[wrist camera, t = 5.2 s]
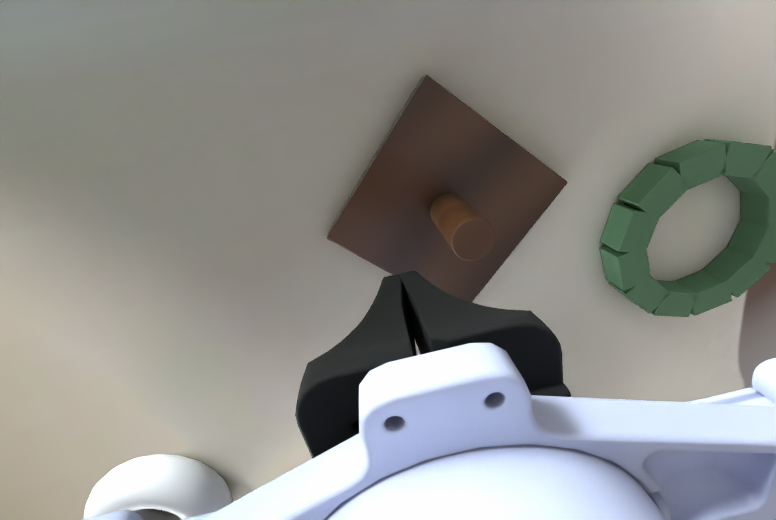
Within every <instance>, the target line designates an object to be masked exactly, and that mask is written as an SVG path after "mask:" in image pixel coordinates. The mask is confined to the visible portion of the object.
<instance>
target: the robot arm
mask: <svg viewBox="0 0 776 520" xmlns="http://www.w3.org/2000/svg"><path fill="white" fill-rule="evenodd" d="M414 338H415V339H414ZM415 341H416V343H417V346H418V349H419V351H420V354H421V355H417V354H416V346H415ZM295 416H296V420H297V424H298V427H299V429H300V431H301V434H302V436H303V438H304V440H305V443H306V445H307V447H308V449H309V452H310V454H311V456H312V458H313V459H311V460H309V461H307V462H306V463H304V464H302V465H300V466H298V467H296V468H295V469H293V470H291V471H289V472H287V473H285V474H284V475H282V476H280V477H278V478H276V479H274V480H273V481H271V482H269V483H267V484H265V485H263V486H262V487H260V488H258V489H256V490H254V491H252V492H251V493H249V494H247V495H245V496H243V497H241V498H240V499H238V500H236V501H234V502H232V503H230V504H229V505H227V506H225V507H223V508H221V509H219V510H218V511H216V512H211V513H207V514H203V515H198V516H194V517H190V518H185V519H181V520H776V358H773V359H769V360H766V361H764V362H762V363H761V364H760V365H758V366H757V367H756V369H755V371H754V373H753V377H752V387H751V388H746V389H742V390H738V391H733V392H729V393H725V394H720V395H716V396H712V397H707V398H703V399H699V400H694V401H690V402H671V401H649V400H627V399H604V398H582V397H571V394H570V391H569V390H568V388H567V387H566V386H565V384H564V383H563V367H562V351H561V346H560V343H559V341H558V339H557V338H556V336H555V335H554V333H553V332H552V331H551V330H550V329H549V328H548V327H547V326H546V325H545V324H544V323H543V322H542V321H541V320H540V319H539V318H538V317H537V316H536V315H534V314H533V313H532V312H531V311H524V310H505V309H497V308H491V307H486V306H481V305H478V304H474V303H470V302H467V301H464V300H462V299H459V298H457V297H454V296H452V295H450V294H448V293H446V292H444V291H443V290H441V289H439V288H438V287H436V286H435V285H433V284H432V283H430V282H429V281H428V280H426V279H425V278H424V277H423V276H421V275H420V274H419V273H418V272H416V271H415V270H414V271H409V272H405V273H401V274H397V275H392V276H388V277H384V278H383V280H382V283H381V286H380V289H379V291H378V294H377V296H376V298H375V300H374V302H373V304H372V306H371V307H370V309H369V311H368V312H367V314H366V316H365V317H364V318H363V320H362V321H361V322H360V324H359V325H358V326H357V327H356V328H355V329H354V330H353V331H352V332H351V333H350V334H349V335H348V336H347V337H346V338H345V339H344V340H342V341H341V342H340V343H339V344H337V345H336V346H335V347H333V348H332V349H331V350H329V351H328V352H326V353H324V354H323V355H321V356H319V357H318V358H316V359H314V360H313V361H311V362H309V363H308V364H307V367H306V370H305V373H304V375H303V378H302V381H301V385H300V389H299V394H298V399H297V405H296V414H295ZM82 520H143V519H142V518H141V517H140V515H138V514H137V513H136V512H134V511H131V510H118V511H114V512H110V513H106V514H101V515H97V516H93V517H88V518H85V519H82Z"/></svg>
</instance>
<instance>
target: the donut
mask: <svg viewBox="0 0 776 520" xmlns="http://www.w3.org/2000/svg"><path fill="white" fill-rule="evenodd" d="M230 503H232V496H231V493H230V491H229V489H228V486H227V484H226V482H225V481H224V480H223V478H222V477H221V476H219V475H218V474H217V473H216V472H215V471H214V470H213V469H212V468H211V467H209V466H207V465H205V464H203V463H201V462H200V461H198V460H195V459H191V458H187V457H184V456H180V455H167V454H156V455H150V456H144V457H138V458H135V459H132V460H130V461H128V462H125V463H123V464H121V465H119V466H117V467H115V468H114V469H112V470H111V471H110V472H109V473H108V474H107V475H105V476H104V477H103V478H102V479H101V480H100V481H99V482H98V483H97V484H96V485H95V487H94V488H93V490H92V492H91V494H90V496H89V499H88V501H87V504H86V507H85V511H84V519H85V518H88V517H93V516H97V515H101V514H106V513H110V512H114V511H118V510H131V511H134V512H136V513H137V514H138V515H140V517H141V518H142V519H143V520H181V519H185V518H190V517H194V516H198V515H203V514H207V513H211V512H216V511H218V510H219V509H221V508H223V507H225V506H227V505H229V504H230ZM156 509H159V510H164V511H168V512H163V511H159V510H156Z"/></svg>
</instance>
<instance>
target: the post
mask: <svg viewBox="0 0 776 520" xmlns="http://www.w3.org/2000/svg"><path fill="white" fill-rule="evenodd" d="M566 184H567V181H566V180H564V179H563V178H562V177H561V176H559V175H558V174H557V173H555V172H554V171H553V170H551V169H550V168H549V167H547V166H546V165H545V164H543V163H542V162H541V161H540V160H538V159H537V158H536V157H534V156H533V155H532V154H530V153H529V152H528V151H526V150H525V149H524V148H522V147H521V146H520V145H518V144H517V143H516V142H515V141H513V140H512V139H511V138H509V137H508V136H507V135H505V134H504V133H503V132H501V131H500V130H499V129H497V128H496V127H495V126H493V125H492V124H491V123H490V122H488V121H487V120H486V119H484V118H483V117H482V116H480V115H479V114H478V113H476V112H475V111H474V110H472V109H471V108H470V107H468V106H467V105H466V104H465V103H463V102H462V101H461V100H459V99H458V98H457V97H455V96H454V95H453V94H451V93H450V92H449V91H447V90H446V89H445V88H443V87H442V86H441V85H440V84H438V83H437V82H436V81H434V80H433V79H432V78H430V77H429V76H428V75H425V76H423V77H422V78H421V80H420V82H419V83H418V85H417V87H416V88H415V90H414V92H413V93H412V95H411V97H410V98H409V100H408V102H407V103H406V105H405V106H404V108H403V110H402V111H401V113H400V115H399V116H398V118H397V120H396V121H395V123H394V125H393V126H392V128H391V130H390V131H389V133H388V135H387V136H386V138H385V139H384V141H383V143H382V144H381V146H380V148H379V149H378V151H377V153H376V154H375V156H374V158H373V159H372V161H371V163H370V164H369V166H368V168H367V169H366V171H365V172H364V174H363V176H362V177H361V179H360V181H359V182H358V184H357V186H356V187H355V189H354V191H353V192H352V194H351V196H350V197H349V199H348V201H347V202H346V204H345V205H344V207H343V209H342V210H341V212H340V214H339V215H338V217H337V219H336V220H335V222H334V224H333V225H332V227H331V229H330V230H329V232H328V236H327V239H329V240H330V241H332V242H334V243H336V244H338V245H339V246H341V247H343V248H345V249H347V250H349V251H350V252H352V253H354V254H356V255H358V256H359V257H361V258H363V259H365V260H367V261H369V262H370V263H372V264H374V265H376V266H378V267H379V268H381V269H383V270H385V271H387V272H389V273H390V274H392V275H397V274H401V273H405V272H409V271H414V270H415V271H416V272H418V273H419V274H420V275H421V276H423V277H424V278H425V279H426V280H428V281H429V282H430V283H432V284H433V285H435V286H436V287H438V288H439V289H441V290H443V291H444V292H446V293H448V294H450V295H452V296H454V297H457V298H459V299H462V300H464V301H467V302H470V303H472V301H473V300H474V299H475V298H476V296H477V295H478V294H479V293H480V291H481V290H482V289H483V288H484V286H485V285H486V284H487V283H488V281H489V280H490V279H491V278H492V276H493V275H494V274H495V273H496V271H497V270H498V269H499V268H500V266H501V265H502V264H503V263H504V261H505V260H506V259H507V258H508V256H509V255H510V254H511V253H512V251H513V250H514V249H515V248H516V246H517V245H518V244H519V243H520V241H521V240H522V239H523V238H524V236H525V235H526V234H527V233H528V231H529V230H530V229H531V228H532V226H533V225H534V224H535V223H536V221H537V220H538V219H539V218H540V216H541V215H542V214H543V213H544V211H545V210H546V209H547V208H548V206H549V205H550V204H551V203H552V201H553V200H554V199H555V198H556V196H557V195H558V194H559V193H560V191H561V190H562V189H563V188H564V186H565V185H566Z"/></svg>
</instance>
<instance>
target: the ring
mask: <svg viewBox="0 0 776 520" xmlns="http://www.w3.org/2000/svg"><path fill="white" fill-rule="evenodd" d="M771 148H772V147H771V146H767V145H758V144H750V143H741V142H733V141H722V140H711V139H705V140H703V141H700V140H697V141H694V142H692V143H690V144H687V145H685V146H683V147H681V148H678V149H676V150H674V151H672V152H669V153H667V154H665V155H662V156H660V157H658V158H656V159H655V160H656V164H651V163H649V164H648V165H647V166H646V167H645V168H644V169H643V170H642V171H641V172H640V174H639V175H638V176H637V177H636V178H635V179H634V180H633V181H632V182H631V183H630V184H629V185H628V186H627V187H626V188H625V190H624V191H623V192H622V193H621V194H620V195H619V196H618V199H619V200H620V201H622V202H623V203H624V204H616V203H615V204H613V206H612V209H611V212H610V215H609V218H608V220H607V223H606V226H605V229H604V232H603V235H602V238H601V240H600V242H602V243H604V244H605V245H604V246H601V247H600V253H601V257H602V262H603V267H604V272H605V277H606V279H607V280H609V281H610V282H609V284H610V285H612V286H613V287H614V288H615V289H617V290H618V291H619V292H620V293H622V294H623V295H624V296H625V297H627V298H628V299H629V300H630V301H632V302H633V303H635V304H636V305H638V306H639V307H640V308H642V309H643V310H645V311H646V312H648V313H652V314H653V315H660V316H680V317H688V316H689V315H690V314H692V315H694V316H695V315H698V314H700V313H703V312H705V311H708V310H710V309H713V308H715V307H718V306H720V305H723V304H725V303H728V302H730V301H732V298H731V295H733V296H735V297H739V296H740V295H741V294H742V293H744V292H745V291H746V290H747V289H748V288H749V287H750V286H752V285H753V284H754V283H755V282H756V281H757V280H758V279H760V278H761V277H762V276H763V275H764V274H765V273H766V272H768V271H769V270H770V269H771V268H770V267H769V266H768V265H767V264H766V263H765V262H767V263H768V262H769V263H775V262H776V149H771ZM721 175H725V176H727V177H728V178H729V179H730V180H731V181H732V182H733V183H734V185H735V186H736V187H737V188H738V189H739V190H740V193H741V221H740V223H739V225H738V227H737V229H736V231H735V233H734V235H733V237H732V239H731V241H730V243H729V245H728V247H727V248H726V249H725V250H724V251H723V252H721V253H720V254H719V255H718V256H717V257H716V258H715V259H714V260H713V261H712V262H711V263H710V264H708V265H707V266H706V267H705V268H704V269H703V270H702V271H699V272H697V273H694V274H692V275H689V276H687V277H684V278H682V279H679V280H677V281H674V282H673V281H657V280H654V279H653V278H652V277H651V276H650V270H649V263H648V256H647V250H646V249H647V247H648V244H649V242H650V239H651V237H652V234H653V232H654V229H655V227H656V224H657V222H658V220H659V218H660V217H661V216H662V215H663V214H664V213H665V212H666V211H667V210H668V209H669V207H670V206H671V205H672V204H673V203H674V202H675V201H676V200H677V199H678V198H679V197H680V196H681V195H682V194H683V193H684V192H685V191H686V190H688V189H690V188H693V187H695V186H697V185H700V184H702V183H704V182H707V181H709V180H711V179H714V178H716V177H718V176H721Z"/></svg>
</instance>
